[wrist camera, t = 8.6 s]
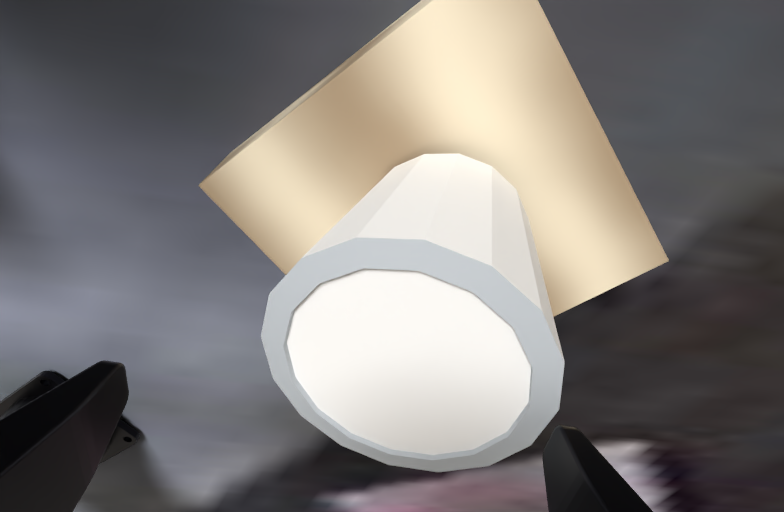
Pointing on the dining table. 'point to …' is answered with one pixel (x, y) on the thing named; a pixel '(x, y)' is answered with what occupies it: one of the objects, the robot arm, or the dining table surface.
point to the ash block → (448, 143)
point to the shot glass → (422, 322)
